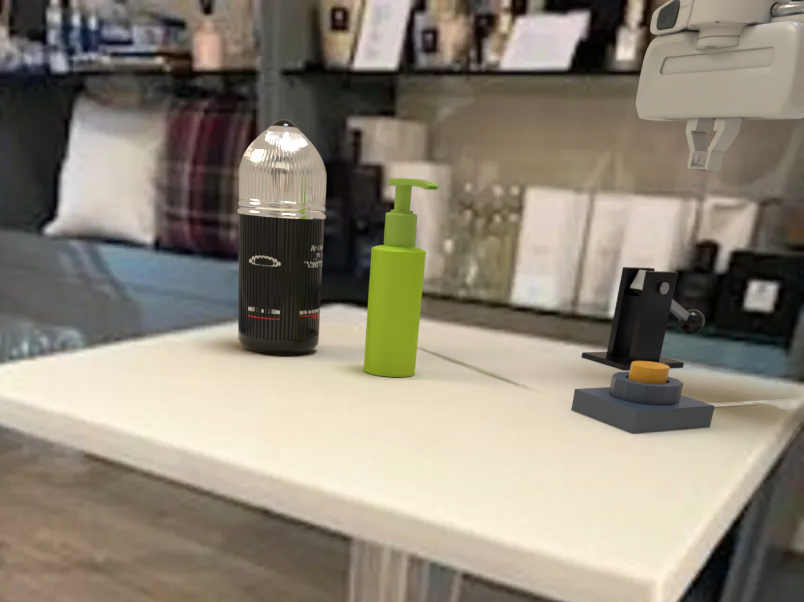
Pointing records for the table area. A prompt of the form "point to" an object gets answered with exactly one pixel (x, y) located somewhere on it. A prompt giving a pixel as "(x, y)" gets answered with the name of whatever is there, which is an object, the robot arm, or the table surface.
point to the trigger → (675, 309)
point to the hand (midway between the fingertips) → (703, 170)
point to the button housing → (642, 406)
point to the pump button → (649, 372)
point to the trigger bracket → (639, 321)
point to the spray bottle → (280, 242)
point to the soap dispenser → (396, 289)
